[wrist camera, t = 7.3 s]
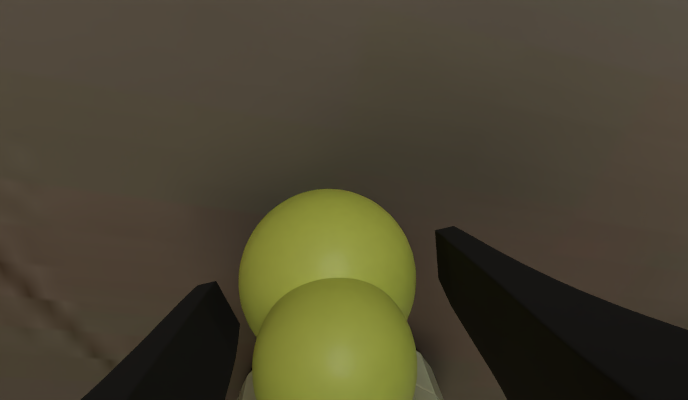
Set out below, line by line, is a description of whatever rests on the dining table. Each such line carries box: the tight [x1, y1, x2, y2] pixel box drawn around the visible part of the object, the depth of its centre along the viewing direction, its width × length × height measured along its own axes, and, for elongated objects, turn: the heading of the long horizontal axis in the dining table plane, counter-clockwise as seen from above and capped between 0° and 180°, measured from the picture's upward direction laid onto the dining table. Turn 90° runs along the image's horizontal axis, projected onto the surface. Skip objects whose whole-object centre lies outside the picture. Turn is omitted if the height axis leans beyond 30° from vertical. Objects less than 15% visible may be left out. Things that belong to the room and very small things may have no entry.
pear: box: [239, 189, 417, 400], centre depth 8 cm, size 6×6×9 cm
